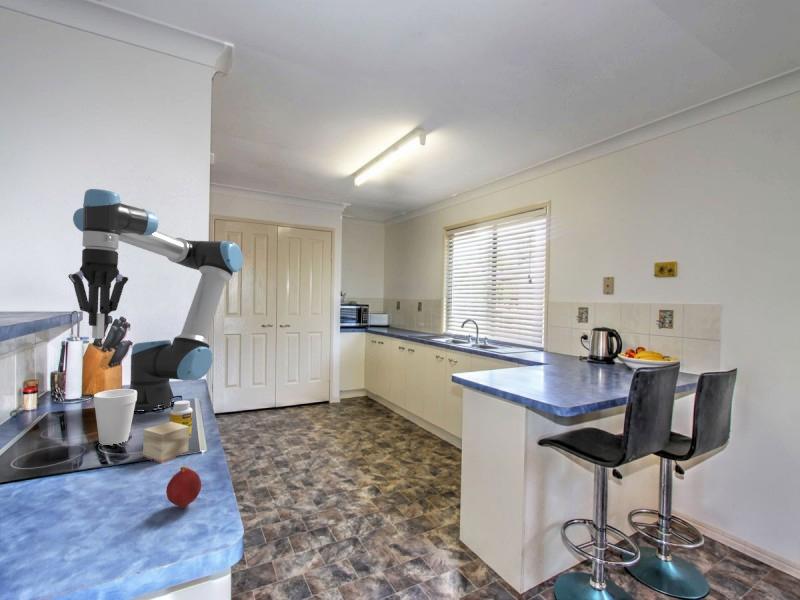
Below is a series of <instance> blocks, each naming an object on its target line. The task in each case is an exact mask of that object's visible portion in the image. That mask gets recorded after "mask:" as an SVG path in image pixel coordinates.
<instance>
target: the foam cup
mask: <svg viewBox="0 0 800 600" xmlns="http://www.w3.org/2000/svg"><path fill="white" fill-rule="evenodd" d="M136 401H137V391H136V390H132V389H129V388H121V389H120V388H119V389H110V390H109V389H108V390H103V391H99V392H97V393H95V394H93V406H94V407H95V408H94V409H95V418H96V426H97V434H98V444H99V443H100V444H102V445H101V446H103V445H110V446H114V445H113V444H117V445H119V444H118V443H121V444H123V443H122V442H124V443H126V442H127V441H128V440H129V438H130V434H131V428H132V422H133V418H134V413H135V412H134V408H135V403H136ZM125 441H126V442H125ZM100 444H99V445H100Z"/></svg>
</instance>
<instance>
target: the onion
mask: <svg viewBox="0 0 800 600" xmlns="http://www.w3.org/2000/svg"><path fill="white" fill-rule="evenodd" d="M200 477H201V476H199V474H198V473H197V472H196V471H195V470H194V469H190V468H189V467H187V466H186V465H183V466H181V467H180V471H177V473H175V474H174V475H173V476H172V477H171V479H170V480H169V481H168V483H167V486H166V498H167V499H168V501H169V502H170V503H172V505H174V506H177V507H179V508H181V509H184V508H186V507H188V506H189V505H190V504H191V503H193V502H194V501H196V499H197V498H198V496H199V494H200V492H201V489H202V481H201V478H200Z"/></svg>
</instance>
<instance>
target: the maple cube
mask: <svg viewBox="0 0 800 600" xmlns="http://www.w3.org/2000/svg"><path fill="white" fill-rule="evenodd" d="M189 440H190V438H189V426H186V425H182V424H178V423H174V422H170V421H169V422H166V423H165V422H164V423H163V424H159V425H155V426H150V427H148V428H144V429H143V444H142V445H143V447H142V457H143V456H145V457H149V458H152V459H154V460H156V461H157V462H156V463H158V462H160V463H159V464H163V463H162V462H164V463H166V462H165V461H167V462H169V461H171V460H170V459H172V458H175V457H176V456H177V455H180V454H183V453H185V452H188V453H189V445H190V444H189V443H190V442H189ZM175 459H176V458H175ZM168 460H169V461H168ZM172 460H173V459H172Z"/></svg>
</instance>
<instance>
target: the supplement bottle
mask: <svg viewBox="0 0 800 600" xmlns="http://www.w3.org/2000/svg"><path fill="white" fill-rule="evenodd" d="M193 411H194V410H193V408H192V407H191V401H190V400H177V401H174V405H173V407H172V408H171V410H170V411H169V422H174V423H178V424H182V425H186V426H189V439H190V438H191V437H192V432H193V431H192V430H193Z"/></svg>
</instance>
